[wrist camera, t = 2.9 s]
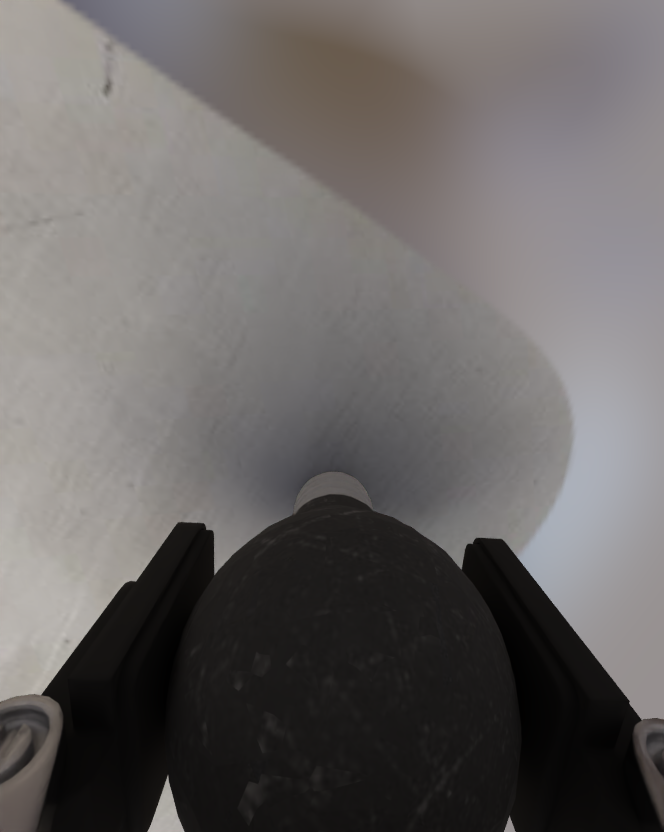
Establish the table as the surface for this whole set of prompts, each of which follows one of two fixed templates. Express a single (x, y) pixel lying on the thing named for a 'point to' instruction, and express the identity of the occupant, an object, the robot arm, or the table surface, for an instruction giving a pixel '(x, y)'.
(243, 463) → the table surface
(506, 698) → the light bulb
